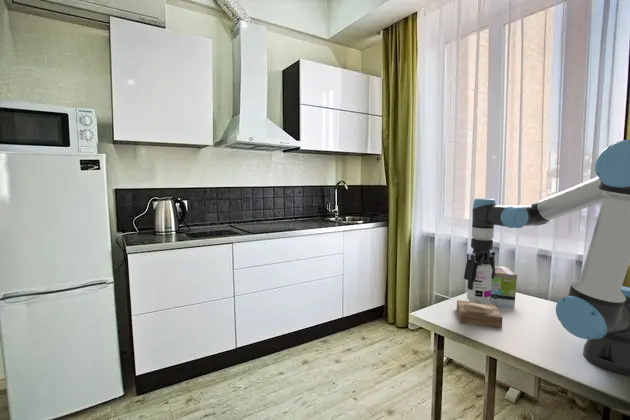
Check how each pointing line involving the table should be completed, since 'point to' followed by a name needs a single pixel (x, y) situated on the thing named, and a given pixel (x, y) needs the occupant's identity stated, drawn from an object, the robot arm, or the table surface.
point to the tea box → (503, 287)
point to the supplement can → (482, 285)
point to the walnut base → (479, 314)
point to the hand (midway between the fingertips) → (478, 295)
